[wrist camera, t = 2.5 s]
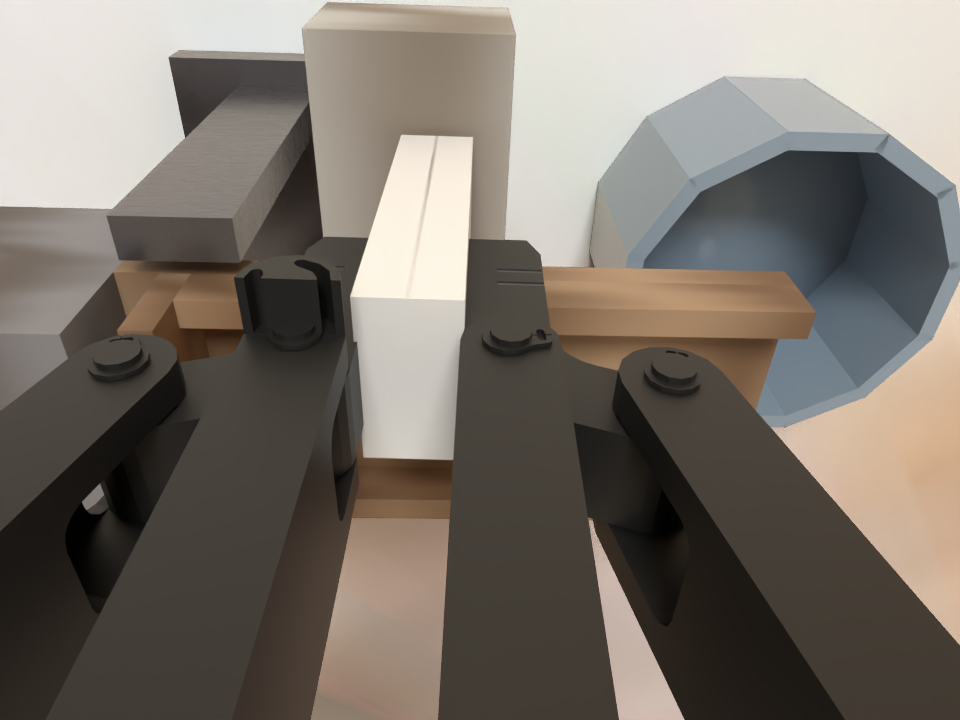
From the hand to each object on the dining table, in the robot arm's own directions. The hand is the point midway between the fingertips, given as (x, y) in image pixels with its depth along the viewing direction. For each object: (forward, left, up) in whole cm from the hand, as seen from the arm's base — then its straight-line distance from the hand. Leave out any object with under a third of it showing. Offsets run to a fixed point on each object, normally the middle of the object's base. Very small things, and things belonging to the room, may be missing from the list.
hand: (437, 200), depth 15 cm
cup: (+12, -7, -15) cm, 21 cm away
